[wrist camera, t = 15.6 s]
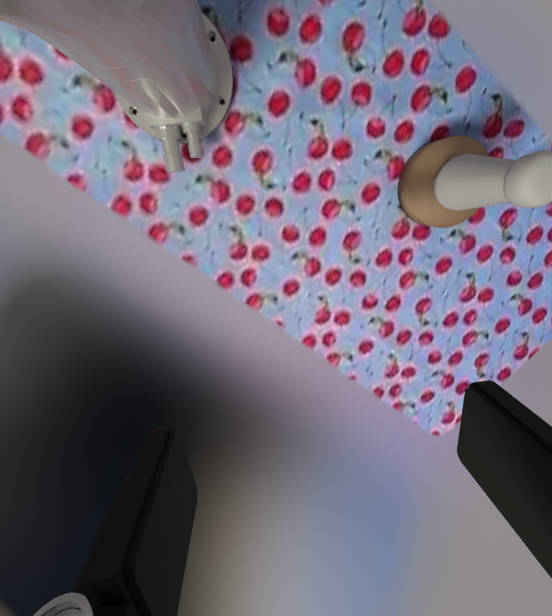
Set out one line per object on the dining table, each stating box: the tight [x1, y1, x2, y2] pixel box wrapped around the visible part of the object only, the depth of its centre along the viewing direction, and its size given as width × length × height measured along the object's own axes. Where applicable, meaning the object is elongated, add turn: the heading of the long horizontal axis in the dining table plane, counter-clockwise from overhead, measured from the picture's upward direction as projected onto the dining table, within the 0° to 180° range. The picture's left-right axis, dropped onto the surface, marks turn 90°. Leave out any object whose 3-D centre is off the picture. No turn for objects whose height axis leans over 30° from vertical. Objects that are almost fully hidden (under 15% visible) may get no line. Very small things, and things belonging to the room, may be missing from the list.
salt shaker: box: [432, 150, 552, 211], centre depth 29 cm, size 6×6×13 cm
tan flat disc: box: [398, 136, 489, 228], centre depth 37 cm, size 10×10×3 cm
